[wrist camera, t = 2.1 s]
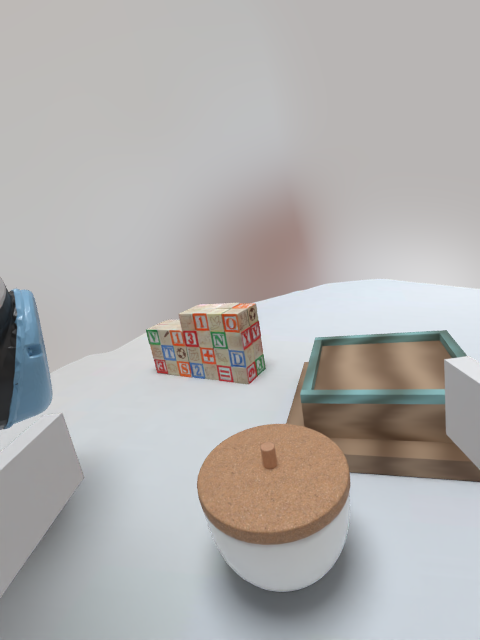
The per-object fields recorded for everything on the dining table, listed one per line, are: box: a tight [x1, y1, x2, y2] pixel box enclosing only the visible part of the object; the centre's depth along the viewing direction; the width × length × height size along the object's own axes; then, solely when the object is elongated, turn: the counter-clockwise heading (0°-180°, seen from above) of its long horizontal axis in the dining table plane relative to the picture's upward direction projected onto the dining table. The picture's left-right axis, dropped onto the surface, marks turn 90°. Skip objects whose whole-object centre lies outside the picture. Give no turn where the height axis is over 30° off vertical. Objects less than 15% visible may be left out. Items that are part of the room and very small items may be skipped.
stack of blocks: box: [146, 303, 265, 384], centre depth 61 cm, size 21×6×12 cm, turn 59°
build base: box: [286, 330, 480, 482], centre depth 40 cm, size 22×22×7 cm
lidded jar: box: [197, 424, 350, 592], centre depth 25 cm, size 11×11×9 cm
